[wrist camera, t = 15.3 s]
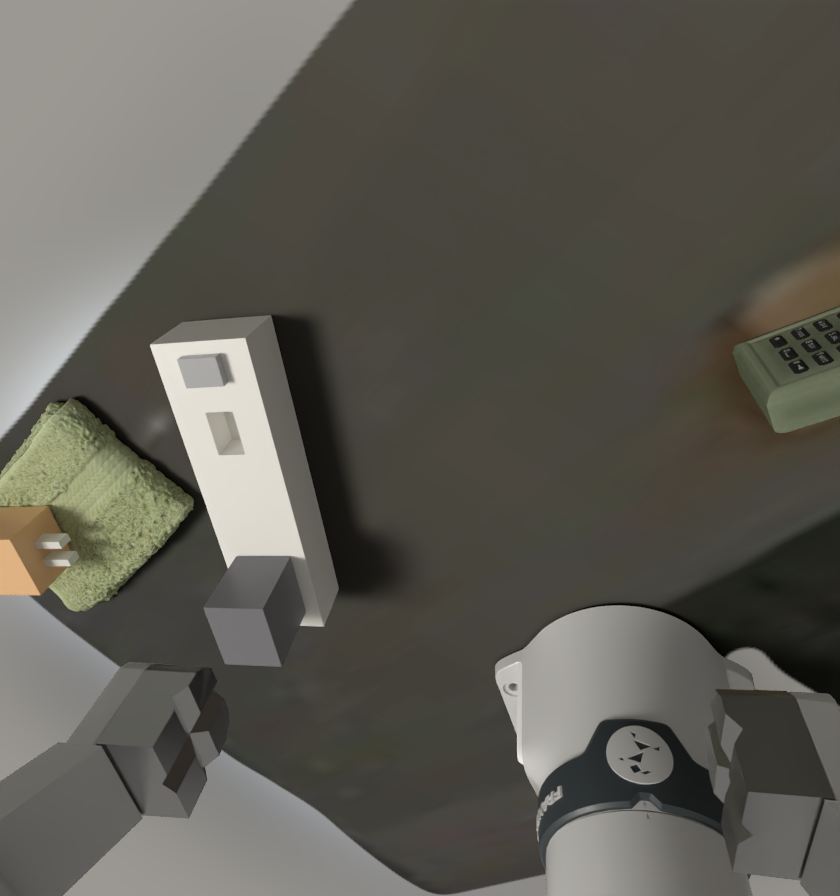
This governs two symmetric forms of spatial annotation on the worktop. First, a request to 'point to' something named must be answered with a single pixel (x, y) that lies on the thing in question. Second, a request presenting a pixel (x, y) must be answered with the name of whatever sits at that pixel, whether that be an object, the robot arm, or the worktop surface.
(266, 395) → the power strip
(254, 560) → the block
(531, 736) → the robot arm
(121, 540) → the washcloth
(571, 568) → the worktop surface
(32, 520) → the orange charger
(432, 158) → the worktop surface
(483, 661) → the worktop surface
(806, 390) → the handheld radio
